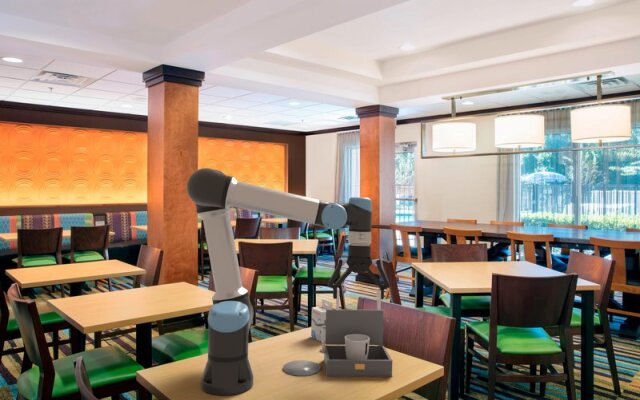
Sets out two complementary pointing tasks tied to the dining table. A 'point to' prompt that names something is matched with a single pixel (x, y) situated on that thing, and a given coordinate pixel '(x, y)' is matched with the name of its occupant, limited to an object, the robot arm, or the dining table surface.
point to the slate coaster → (301, 368)
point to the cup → (356, 346)
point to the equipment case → (355, 323)
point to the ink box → (319, 320)
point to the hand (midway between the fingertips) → (358, 309)
